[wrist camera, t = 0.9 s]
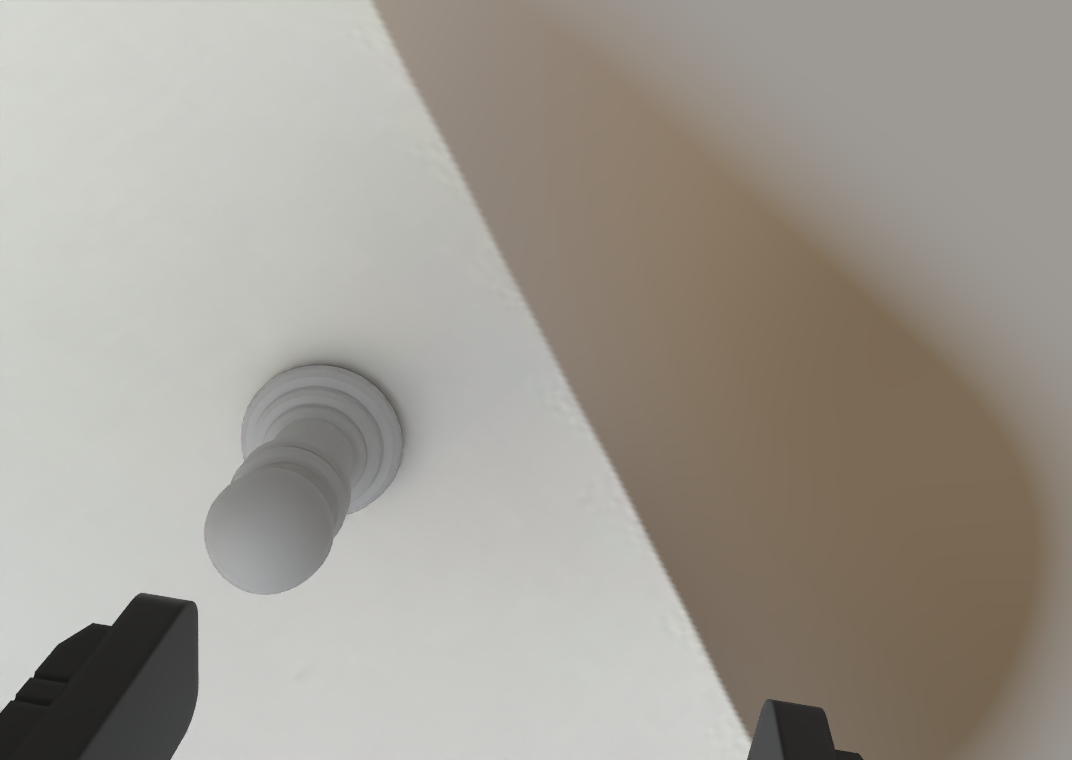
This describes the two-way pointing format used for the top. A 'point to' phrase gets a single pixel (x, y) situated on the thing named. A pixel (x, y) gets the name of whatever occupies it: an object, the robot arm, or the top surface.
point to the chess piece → (301, 476)
